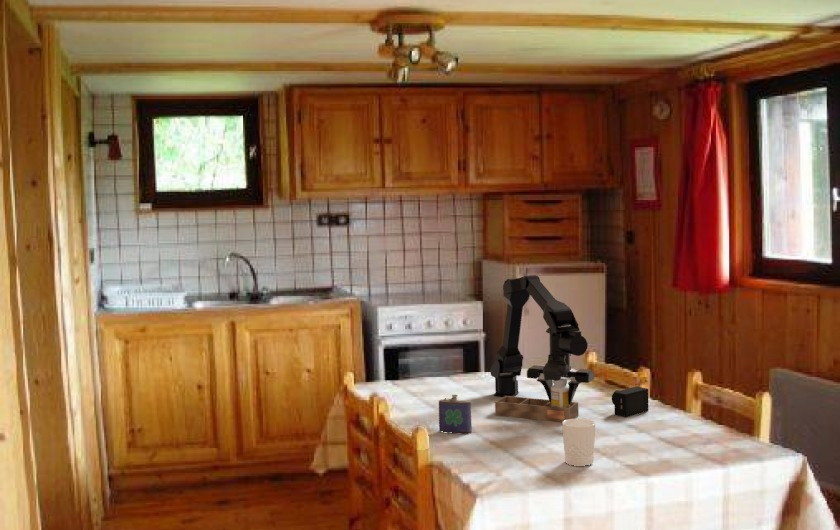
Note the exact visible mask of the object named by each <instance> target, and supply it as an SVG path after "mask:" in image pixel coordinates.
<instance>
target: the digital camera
mask: <svg viewBox="0 0 840 530" xmlns="http://www.w3.org/2000/svg"><path fill="white" fill-rule="evenodd" d="M611 402H612V404H613V405H614V416H618V417H621V418H626V419H627V418H629V417H633V416H637V415H641V414H643V413H647V412H649V388H647V387H642V386H632V387H629V388H625V389H622V390H619V389H617V390H615V391H614V392H613V393H612V395H611Z"/></svg>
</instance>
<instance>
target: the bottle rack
mask: <svg viewBox="0 0 840 530" xmlns="http://www.w3.org/2000/svg"><path fill="white" fill-rule="evenodd" d="M494 411H495V412H494V413H495V414H494V415H495V416H499V415H500V416H502V417H509V416H511V417H512V418H518V419H519V418H521V419H530V420H539V421H540V420H541V421H551V422H560V423H562V422H563V421H565V420H568V419H577V418H578V417H579V416H580V413H579V402H576V401H572V403H571V404H570V407H569V408H560V407H551V402H550V401H549V399H545V398H544V399H542V398H533V397H524V396H523V397H521V396H520V397H519V396H513V397H512V396H505V397H504V396H502V397H501V398H499V399H497V400H496V401H495V402H494ZM511 417H510V418H511Z"/></svg>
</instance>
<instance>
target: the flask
mask: <svg viewBox="0 0 840 530" xmlns="http://www.w3.org/2000/svg"><path fill="white" fill-rule="evenodd" d="M457 397H458V394H452V395H451V398H447V397H445V398H444V399H440V400H438V427H439V428H438V429H439V432H440V431H443V432H452V434H456V433H467V434H468V433H470V434H472V430H473V429H472V401H471V400H469V399H467V400H461V399H460V400H458V399H457Z"/></svg>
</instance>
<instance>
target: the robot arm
mask: <svg viewBox="0 0 840 530" xmlns="http://www.w3.org/2000/svg"><path fill="white" fill-rule="evenodd" d="M502 292H503V293H502V294H503V295H502V296H503V298H504V300H505V301H506V304H507V306H506V315H505V322H504V332H503V341H502V345H501V347H500V348H499V350H498V351H497V353H496V355H495V360H494V362H493V364H492V366H491V368H490V370H489V371H490V376H491V377H492V378H494V385H495V389H494V390H495V393H493V396H496V397H505V396H512V397H515V396H517V394H519V393H520V391H519V380H517V376H518V377H520V376H521V373H522V368H523V361H524V355H523V354H522V353H521V352H520V350H519V344H520V335H521V326H522V318H523V309H524V306H525V305H526V304H527V302H528V301H529V300H530V296H531V297H532V299H533V300H534V301H535V303H536V304H537V306H539V307H540V309H541V310H542V313H543V314H542V318H543V319H544V321H545V323H546V325H547V326H548V328H547V329H546V331H545V332H546V333H547V334H549V354H548V355H547V362H546V363H545V365H532V366H530V367H529V368H528V369H527V370H526V378H527V379H534V380H535V379H536V382H538V383H540V384H541V385H542V386H543V388H544V390H545V392H546V395H547V398H548V400H549V401H550V402H551V387H552V386H553V385H554V383H553V380H554V381H558V380H560V379H561V377H564V378H567V379H568V378H569V379H570V381H567V384H568V385H567V386H569V398H568V401H569V404H571V403H572V402H573V399H574V397H575V395H576V391H577V389H578V387H579V385H580V384H581V383H584V384H586V383H588V384H589V383H590V382H592V381H593V380H595V372H594V371H593V369H588V368H579V369H577V370H576V371H573V370H572V365H571V356H572V355H573V356H576V357H579V356H583V355H584V354H585V353H586V352H587V349H588V341H587V339H586V338H585V336H582V331H580V327H579V323H578V321H577V320H576V317H575V314H574V312H573V310H572V309H571V308H570V306H568V305H567V304H566V303H565V302H562V301H560V300H558V299H556V298H555V297H554V296H553V295H552V293H551V292H550V291H549V289H547V287H546V286H545V285H544V284H543V283H542V281H541V278H540V277H539V276H538V275H536V274H530V275H523V276H520V277H518V278H517V277H516V278H507V279H506V280H504V283H503V284H502ZM571 370H572V371H571Z"/></svg>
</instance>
